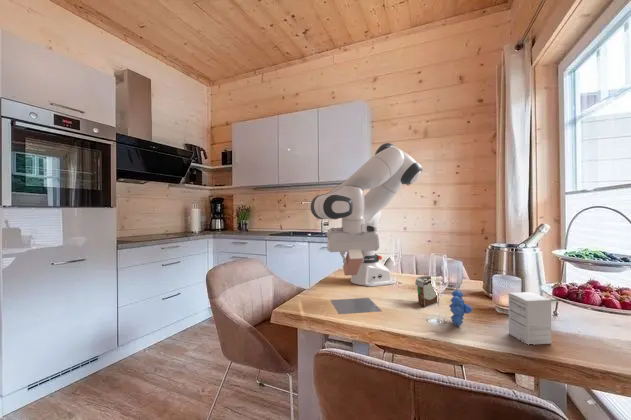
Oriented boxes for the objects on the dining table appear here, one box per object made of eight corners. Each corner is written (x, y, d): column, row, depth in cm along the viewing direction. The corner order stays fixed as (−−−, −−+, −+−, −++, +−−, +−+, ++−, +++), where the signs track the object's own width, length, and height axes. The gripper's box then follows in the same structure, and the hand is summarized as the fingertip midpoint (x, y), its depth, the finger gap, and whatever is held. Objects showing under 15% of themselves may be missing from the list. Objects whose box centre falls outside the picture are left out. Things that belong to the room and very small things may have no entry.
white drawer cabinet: (531, 332, 87) (531, 291, 87) (552, 344, 80) (552, 299, 79) (507, 333, 87) (507, 292, 87) (526, 345, 79) (526, 300, 79)
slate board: (368, 300, 118) (368, 297, 118) (382, 313, 103) (382, 311, 103) (330, 302, 116) (330, 299, 115) (339, 316, 101) (338, 314, 101)
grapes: (471, 335, 85) (471, 296, 85) (446, 330, 89) (446, 292, 89) (473, 321, 95) (473, 286, 95) (451, 317, 99) (451, 283, 99)
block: (354, 266, 118) (360, 249, 110) (356, 274, 116) (363, 257, 107) (342, 267, 118) (348, 249, 109) (344, 275, 115) (350, 258, 106)
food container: (427, 297, 120) (427, 274, 120) (441, 301, 115) (441, 277, 115) (408, 303, 113) (408, 278, 113) (422, 308, 108) (422, 282, 108)
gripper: (328, 228, 106) (328, 265, 107) (380, 227, 109) (381, 263, 110) (325, 227, 113) (325, 262, 113) (374, 226, 116) (375, 260, 116)
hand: (353, 262), depth 111 cm, fingers closed on block, 5 cm apart
